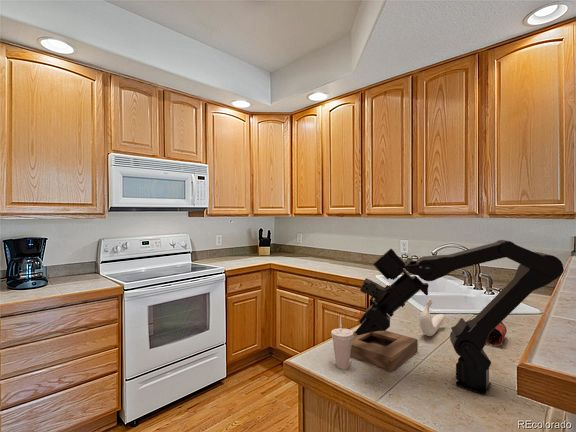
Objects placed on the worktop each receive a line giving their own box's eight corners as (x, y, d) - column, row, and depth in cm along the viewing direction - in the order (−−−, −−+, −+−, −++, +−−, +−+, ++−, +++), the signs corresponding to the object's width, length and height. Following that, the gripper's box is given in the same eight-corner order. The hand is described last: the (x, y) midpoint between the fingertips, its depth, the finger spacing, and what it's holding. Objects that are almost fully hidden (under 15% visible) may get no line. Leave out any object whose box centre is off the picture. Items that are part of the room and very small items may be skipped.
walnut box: (417, 351, 98) (417, 339, 98) (391, 372, 85) (391, 357, 85) (366, 336, 111) (366, 325, 111) (337, 352, 98) (337, 340, 98)
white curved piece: (445, 328, 118) (444, 290, 118) (432, 344, 104) (431, 300, 104) (431, 325, 121) (431, 288, 122) (416, 341, 107) (416, 298, 107)
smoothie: (338, 358, 94) (338, 312, 94) (357, 364, 90) (357, 316, 90) (327, 366, 89) (326, 317, 89) (347, 373, 85) (346, 322, 85)
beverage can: (508, 338, 109) (508, 319, 109) (503, 349, 100) (503, 329, 100) (484, 333, 113) (484, 315, 114) (477, 343, 104) (477, 324, 104)
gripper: (379, 265, 95) (343, 297, 99) (375, 276, 77) (332, 315, 81) (407, 292, 92) (368, 325, 96) (409, 310, 75) (362, 350, 78)
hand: (358, 327), depth 88 cm, fingers open, 9 cm apart
